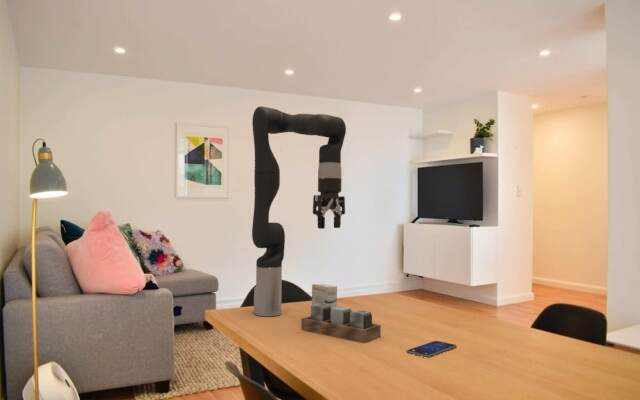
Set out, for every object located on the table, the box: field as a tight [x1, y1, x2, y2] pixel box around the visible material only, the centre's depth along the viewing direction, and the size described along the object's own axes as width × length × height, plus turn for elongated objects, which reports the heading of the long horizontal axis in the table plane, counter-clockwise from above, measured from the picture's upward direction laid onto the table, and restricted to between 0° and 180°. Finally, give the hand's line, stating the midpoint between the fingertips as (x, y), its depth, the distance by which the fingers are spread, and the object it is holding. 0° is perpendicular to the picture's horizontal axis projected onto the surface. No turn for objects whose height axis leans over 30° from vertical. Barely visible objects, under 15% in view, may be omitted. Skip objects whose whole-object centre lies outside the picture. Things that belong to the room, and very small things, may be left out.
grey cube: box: [331, 306, 352, 325], centre depth 145 cm, size 5×4×6 cm
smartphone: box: [405, 340, 457, 358], centre depth 128 cm, size 7×1×15 cm
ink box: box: [311, 283, 338, 308], centre depth 164 cm, size 8×5×12 cm, turn 39°
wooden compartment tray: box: [300, 304, 382, 344], centre depth 145 cm, size 24×9×8 cm, turn 53°
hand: (329, 228), depth 150 cm, fingers open, 8 cm apart
